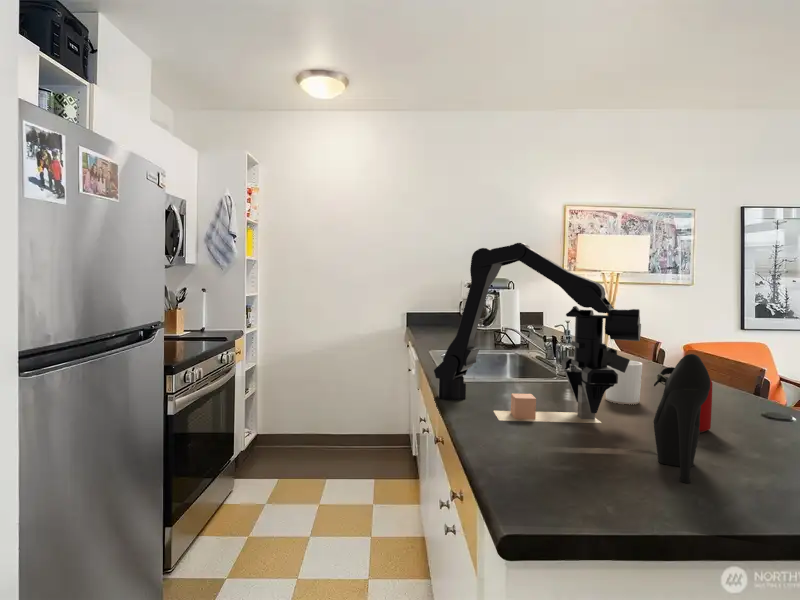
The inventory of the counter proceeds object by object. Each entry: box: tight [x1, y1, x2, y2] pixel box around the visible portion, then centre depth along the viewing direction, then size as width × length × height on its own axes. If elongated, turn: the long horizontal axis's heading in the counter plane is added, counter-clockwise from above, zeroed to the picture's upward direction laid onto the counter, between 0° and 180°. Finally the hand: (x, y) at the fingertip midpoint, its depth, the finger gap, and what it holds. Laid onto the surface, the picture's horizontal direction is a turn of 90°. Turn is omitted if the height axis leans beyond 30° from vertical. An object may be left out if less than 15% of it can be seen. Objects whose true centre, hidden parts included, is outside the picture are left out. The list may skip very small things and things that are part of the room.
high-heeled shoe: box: [653, 353, 711, 484], centre depth 82 cm, size 8×19×20 cm, turn 161°
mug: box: [605, 359, 644, 406], centre depth 129 cm, size 11×9×10 cm
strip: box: [493, 385, 603, 424], centre depth 109 cm, size 22×8×8 cm, turn 88°
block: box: [510, 393, 537, 419], centre depth 109 cm, size 4×4×4 cm
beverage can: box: [699, 378, 713, 433], centre depth 104 cm, size 7×7×12 cm
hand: (586, 407), depth 109 cm, fingers open, 9 cm apart
